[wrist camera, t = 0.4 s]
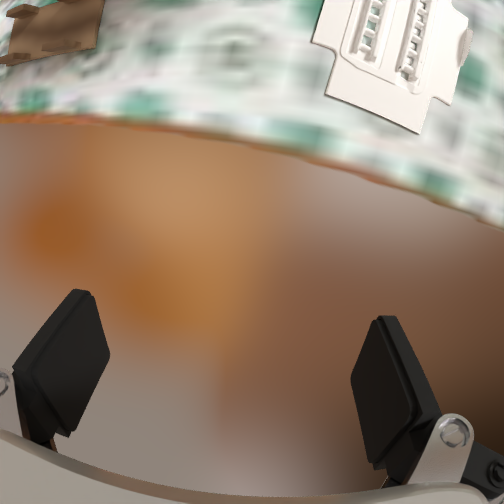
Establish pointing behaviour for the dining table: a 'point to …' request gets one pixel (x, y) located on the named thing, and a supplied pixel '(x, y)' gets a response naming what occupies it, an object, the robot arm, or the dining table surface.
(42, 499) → the robot arm
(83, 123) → the dining table surface
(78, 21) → the rack
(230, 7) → the dining table surface
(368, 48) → the tray
